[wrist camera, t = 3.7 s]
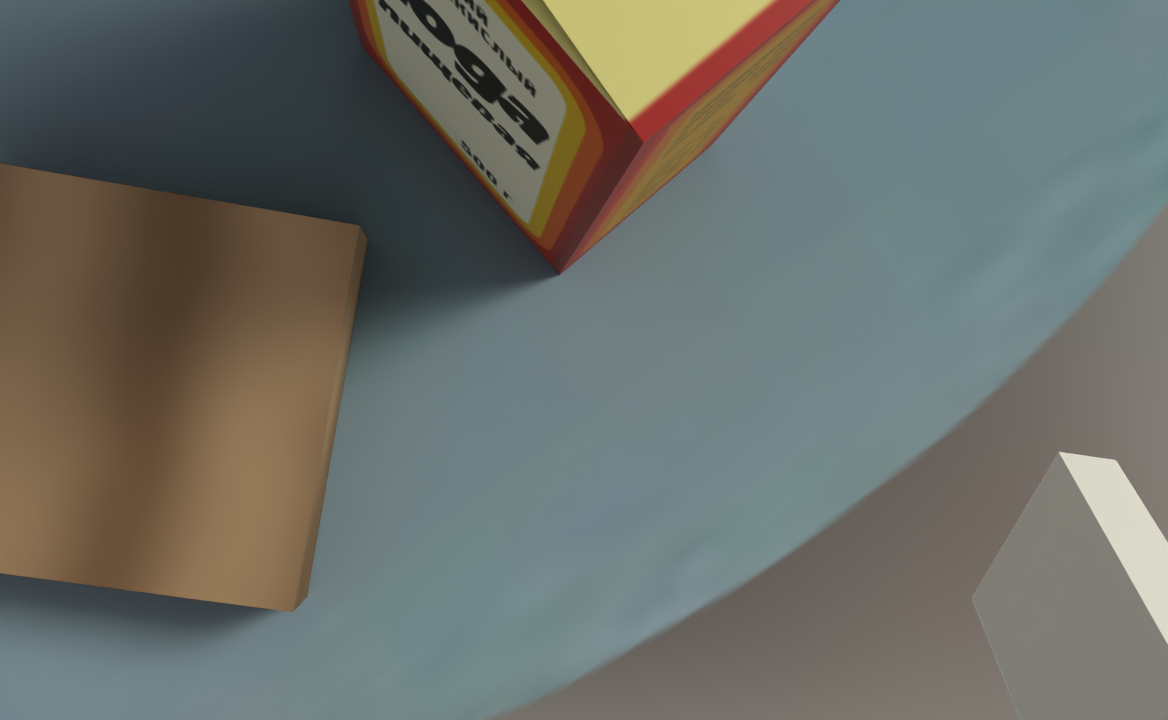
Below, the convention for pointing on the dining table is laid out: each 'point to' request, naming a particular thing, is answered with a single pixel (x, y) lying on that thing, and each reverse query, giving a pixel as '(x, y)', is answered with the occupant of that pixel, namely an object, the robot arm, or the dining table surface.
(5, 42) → the dining table surface
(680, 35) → the baking soda box
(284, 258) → the plinth
